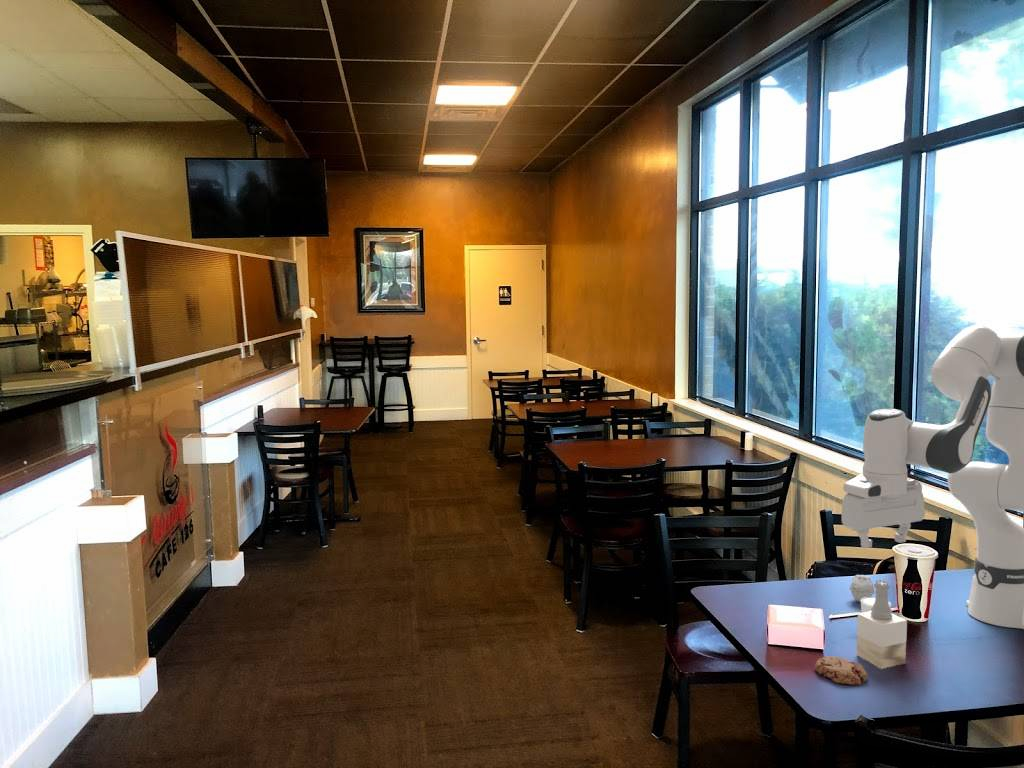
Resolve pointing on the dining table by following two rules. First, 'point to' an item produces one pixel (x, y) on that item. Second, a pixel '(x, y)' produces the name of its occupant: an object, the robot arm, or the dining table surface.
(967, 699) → the dining table surface
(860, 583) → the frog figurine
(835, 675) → the cookie
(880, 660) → the lower block
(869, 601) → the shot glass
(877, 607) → the rook chess piece
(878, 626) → the upper block
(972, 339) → the robot arm
